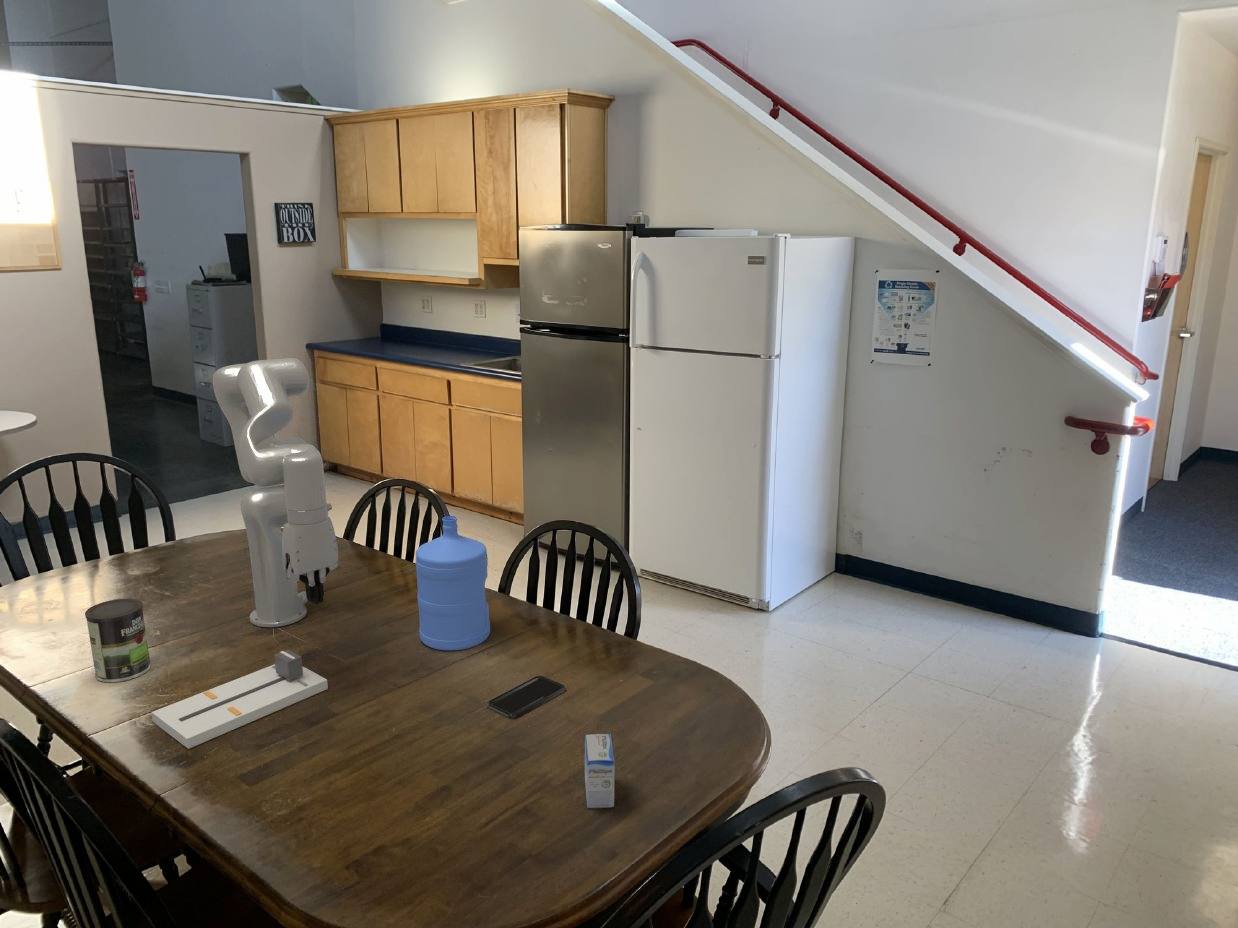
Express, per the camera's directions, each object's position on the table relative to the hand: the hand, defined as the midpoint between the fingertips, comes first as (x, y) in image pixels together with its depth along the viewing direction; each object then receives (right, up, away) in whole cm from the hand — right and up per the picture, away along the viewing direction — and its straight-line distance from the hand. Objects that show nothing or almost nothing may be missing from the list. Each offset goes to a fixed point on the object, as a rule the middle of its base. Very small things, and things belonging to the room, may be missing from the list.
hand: (315, 601), depth 182 cm
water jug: (+24, -11, +21) cm, 34 cm away
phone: (+43, -19, -5) cm, 47 cm away
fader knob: (-5, -14, -1) cm, 15 cm away
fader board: (-11, -19, -8) cm, 23 cm away
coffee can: (-42, -15, +5) cm, 45 cm away
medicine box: (+58, -26, -35) cm, 73 cm away
